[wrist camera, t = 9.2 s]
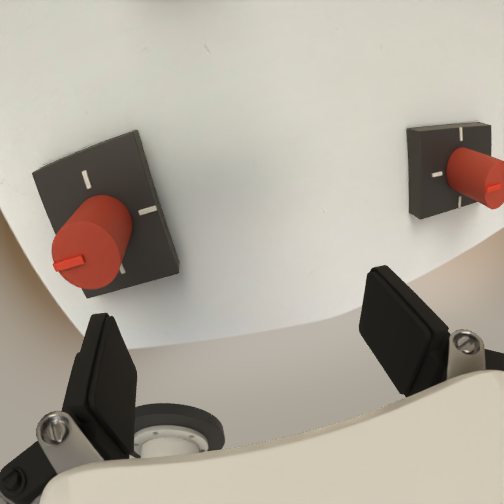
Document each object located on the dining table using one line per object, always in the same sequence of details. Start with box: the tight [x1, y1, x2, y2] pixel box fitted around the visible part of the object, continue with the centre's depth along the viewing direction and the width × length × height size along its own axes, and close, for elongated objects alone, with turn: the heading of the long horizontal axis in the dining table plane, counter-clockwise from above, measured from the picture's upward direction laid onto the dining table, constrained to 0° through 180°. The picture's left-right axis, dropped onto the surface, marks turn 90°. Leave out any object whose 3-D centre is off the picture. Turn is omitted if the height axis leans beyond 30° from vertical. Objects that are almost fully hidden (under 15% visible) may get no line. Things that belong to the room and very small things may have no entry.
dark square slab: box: [407, 122, 491, 219], centre depth 28 cm, size 12×9×2 cm
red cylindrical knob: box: [446, 147, 504, 209], centre depth 24 cm, size 5×5×6 cm
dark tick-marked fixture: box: [32, 130, 179, 298], centre depth 23 cm, size 12×9×2 cm
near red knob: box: [52, 195, 132, 289], centre depth 20 cm, size 5×5×6 cm
